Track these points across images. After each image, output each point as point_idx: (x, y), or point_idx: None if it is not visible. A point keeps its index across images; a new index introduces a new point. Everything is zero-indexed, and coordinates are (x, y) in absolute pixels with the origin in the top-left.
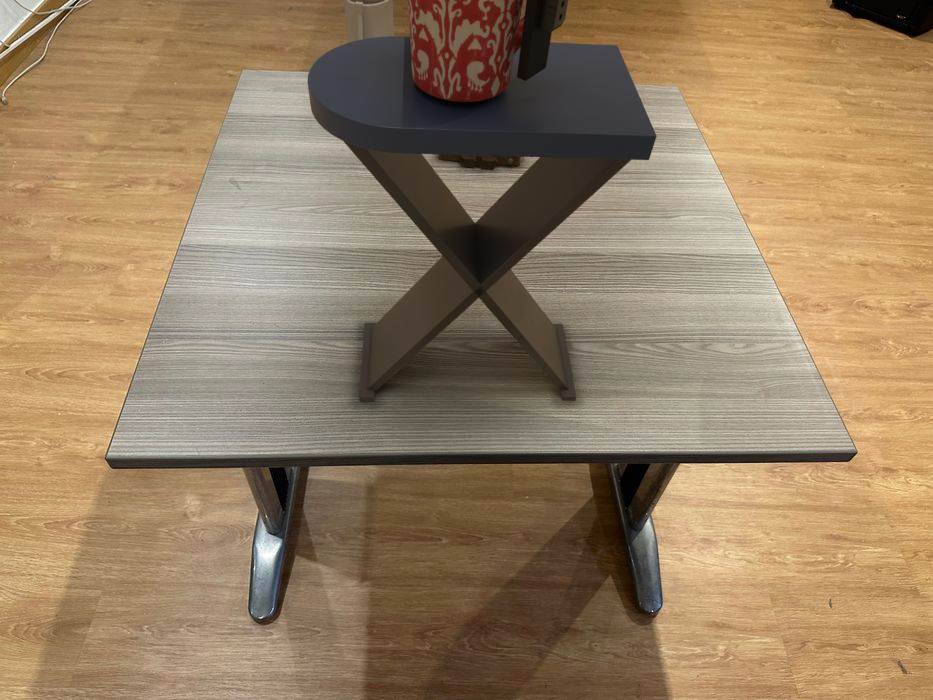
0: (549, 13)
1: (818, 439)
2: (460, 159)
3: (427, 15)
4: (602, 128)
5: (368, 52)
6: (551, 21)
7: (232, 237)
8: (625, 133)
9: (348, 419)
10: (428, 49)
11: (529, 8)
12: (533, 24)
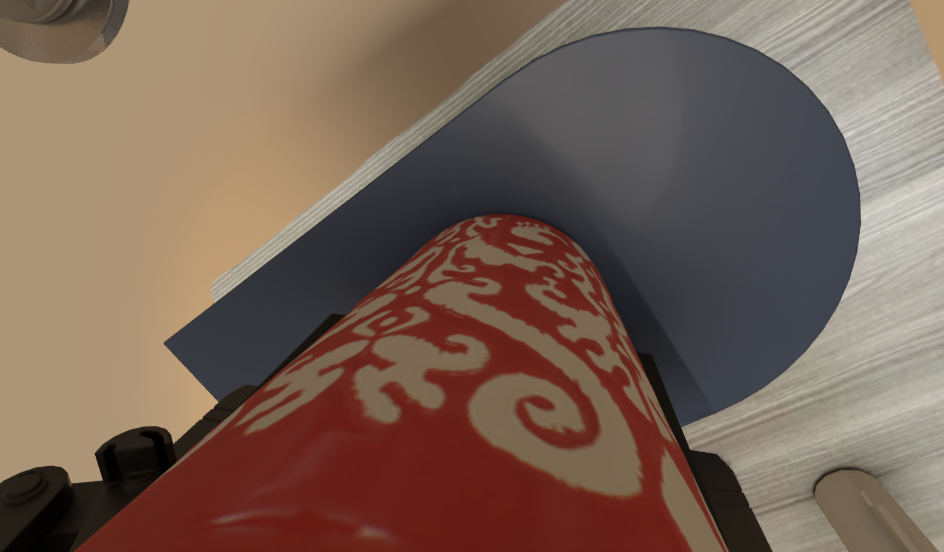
0: (229, 412)
1: (222, 287)
2: None
3: (503, 263)
4: (230, 316)
5: (754, 311)
6: (230, 399)
7: (910, 199)
8: (196, 322)
9: None
10: (508, 237)
11: None
12: (267, 377)
